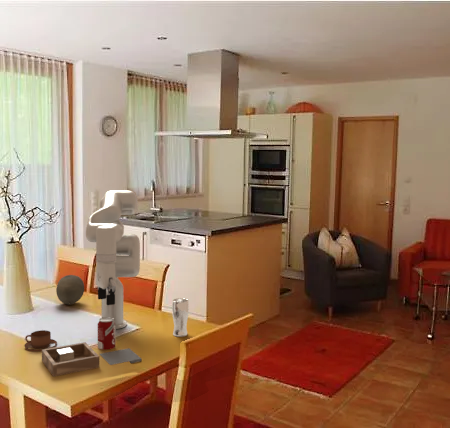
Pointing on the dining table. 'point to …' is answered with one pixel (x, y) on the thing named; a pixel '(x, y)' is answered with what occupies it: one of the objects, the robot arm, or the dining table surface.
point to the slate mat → (121, 356)
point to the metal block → (64, 354)
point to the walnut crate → (82, 360)
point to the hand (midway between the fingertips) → (106, 301)
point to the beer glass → (180, 316)
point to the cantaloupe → (70, 289)
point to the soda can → (106, 333)
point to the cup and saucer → (39, 340)
